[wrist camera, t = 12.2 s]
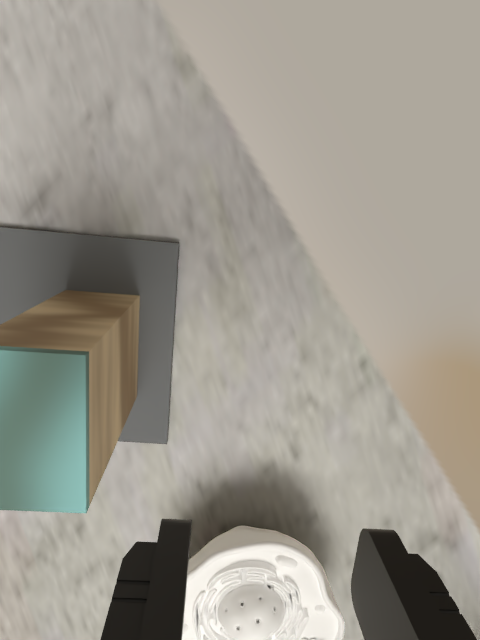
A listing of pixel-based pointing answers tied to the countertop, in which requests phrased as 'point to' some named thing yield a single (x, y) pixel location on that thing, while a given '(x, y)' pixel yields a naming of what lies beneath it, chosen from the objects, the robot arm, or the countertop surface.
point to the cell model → (259, 590)
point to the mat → (104, 277)
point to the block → (64, 397)
